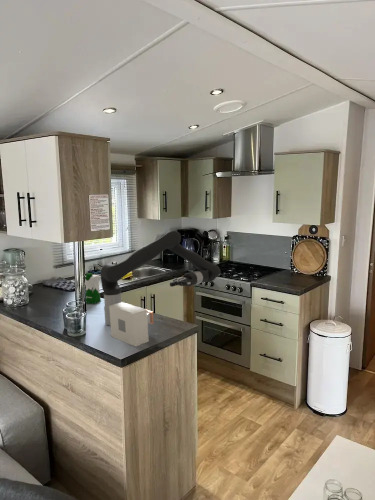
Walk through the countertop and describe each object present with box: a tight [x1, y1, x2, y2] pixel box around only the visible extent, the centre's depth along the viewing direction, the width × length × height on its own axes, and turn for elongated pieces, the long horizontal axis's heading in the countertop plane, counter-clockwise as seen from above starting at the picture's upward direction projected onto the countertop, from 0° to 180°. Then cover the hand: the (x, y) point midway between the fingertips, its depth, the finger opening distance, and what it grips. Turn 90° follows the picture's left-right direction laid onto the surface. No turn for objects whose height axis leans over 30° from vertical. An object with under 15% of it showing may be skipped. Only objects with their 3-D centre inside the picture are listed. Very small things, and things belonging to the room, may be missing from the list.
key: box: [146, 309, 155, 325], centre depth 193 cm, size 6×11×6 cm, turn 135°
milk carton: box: [84, 272, 101, 305], centre depth 253 cm, size 9×9×20 cm
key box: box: [109, 301, 150, 347], centre depth 188 cm, size 20×8×16 cm, turn 45°
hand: (170, 284), depth 206 cm, fingers closed
